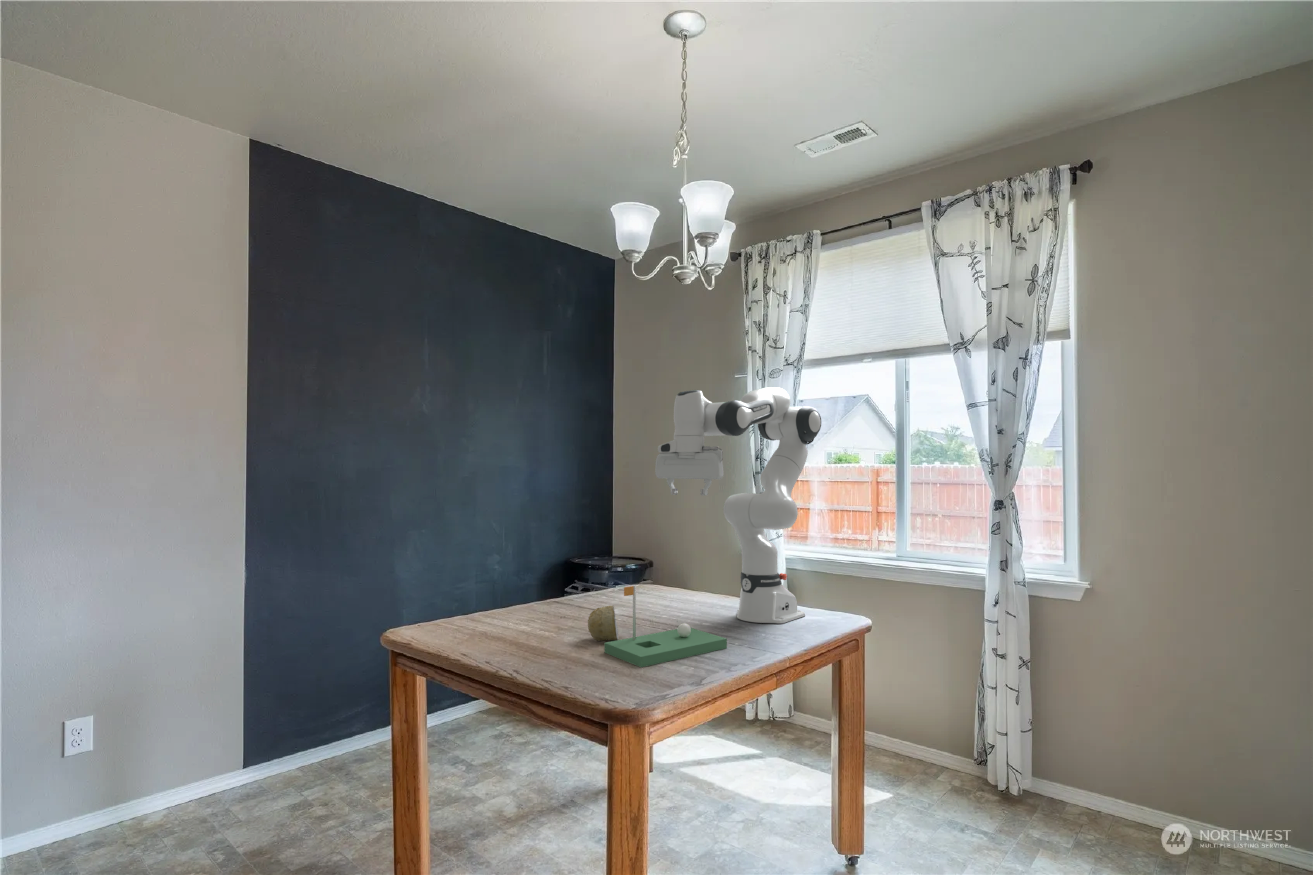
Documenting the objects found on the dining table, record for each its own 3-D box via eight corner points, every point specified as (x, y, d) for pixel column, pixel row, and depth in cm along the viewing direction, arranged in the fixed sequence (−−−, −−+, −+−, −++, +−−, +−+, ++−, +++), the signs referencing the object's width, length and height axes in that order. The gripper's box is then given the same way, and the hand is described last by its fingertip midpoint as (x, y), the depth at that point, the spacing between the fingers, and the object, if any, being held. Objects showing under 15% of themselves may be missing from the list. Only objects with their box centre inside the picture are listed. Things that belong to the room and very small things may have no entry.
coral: (628, 618, 185) (594, 603, 185) (613, 652, 186) (579, 637, 186) (630, 608, 195) (598, 594, 195) (616, 640, 196) (584, 626, 196)
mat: (687, 635, 194) (687, 576, 195) (726, 648, 182) (726, 585, 182) (604, 652, 177) (604, 588, 178) (641, 667, 165) (641, 597, 165)
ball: (685, 634, 186) (685, 621, 186) (693, 637, 183) (693, 623, 183) (674, 636, 184) (674, 623, 184) (683, 639, 181) (683, 625, 181)
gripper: (727, 446, 195) (727, 495, 194) (662, 446, 204) (662, 493, 204) (718, 445, 189) (718, 496, 189) (652, 446, 199) (652, 494, 198)
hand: (688, 495), depth 196 cm, fingers open, 8 cm apart
